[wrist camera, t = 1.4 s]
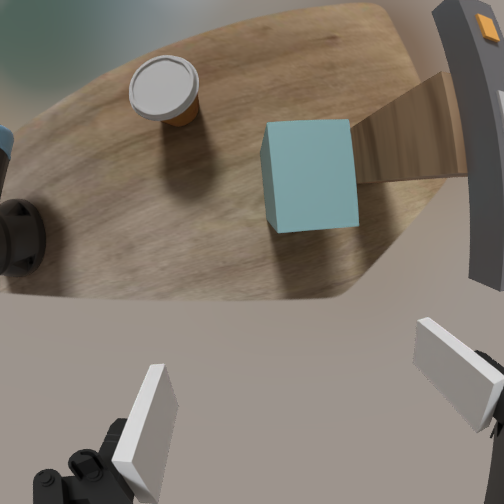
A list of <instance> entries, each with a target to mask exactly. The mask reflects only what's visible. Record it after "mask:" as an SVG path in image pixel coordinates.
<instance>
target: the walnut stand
mask: <svg viewBox="0 0 504 504" xmlns="http://www.w3.org/2000/svg"><path fill="white" fill-rule="evenodd" d="M350 133H351V140H352V149H353V157H354V167H355V177H356V184H366V183H384V182H395V181H407V180H420V179H434V178H450V177H468V173H467V162H466V153H465V145H464V138H463V132H462V125H461V119H460V114H459V108H458V103H457V99H456V94H455V89H454V85H453V81H452V77H451V73H447V72H439V73H437V74H436V75H434V76H432V77H431V78H429V79H427V80H426V81H424V82H423V83H421V84H419V85H418V86H416V87H414V88H413V89H411V90H410V91H408V92H406V93H405V94H403V95H402V96H400V97H398V98H397V99H395V100H394V101H392V102H390V103H389V104H387V105H386V106H384V107H383V108H381V109H379V110H378V111H376V112H375V113H373V114H372V115H370V116H369V117H367V118H366V119H364V120H363V121H361V122H359V123H358V124H356V125H355V126H353V127H352V128H350Z"/></svg>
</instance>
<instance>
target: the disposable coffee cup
mask: <svg viewBox="0 0 504 504" xmlns="http://www.w3.org/2000/svg"><path fill="white" fill-rule="evenodd" d="M198 88H199V78H198V75H197V71H196V70H195V68H194V66H193V65H192V64H191V63H190V62H188V61H187V60H185V59H183V58H180V57H176V56H171V55H164V56H158V57H155V58H152V59H150V60H148V61H147V62H145V63H144V64H142V65H141V66H140V67H139V68H138V69H137V71H136V72H135V73H134V75H133V77H132V79H131V82H130V87H129V99H130V103H131V105H132V107H133V109H134V110H135V111H136V113H138V114H139V115H140V116H142V117H143V118H146V119H149V120H153V121H161V122H164V123H167V124H170V125H172V126H184V125H186V124H188V123H190V122H191V121H193V119H194V118H195V117H196V115H197V113H198V110H199V100H198Z"/></svg>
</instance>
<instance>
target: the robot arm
mask: <svg viewBox="0 0 504 504" xmlns="http://www.w3.org/2000/svg"><path fill="white" fill-rule="evenodd" d="M13 142H14V137H13V133H12V132H11V131H10V130H9V129H8V128H6V127H4V126H2V125H0V198H1V193H2V189H3V184H4V180H5V176H6V172H7V168H8V165H9V161H10V159H11V156H10V155H11V151H12V147H13ZM45 243H46V238H45V229H44V225H43V222H42V219H41V217H40V215H39V213H38V211H37V210H36V208H35V207H34V206H33V205H32V204H31V203H30V202H28V201H26V200H23V199H11V200H7V201H5V202H3V203H2V204H0V275H4V276H11V277H22V276H25V275H28V274H30V273H32V272H34V271H35V270H36V269H37V268H38V266H39V265H40V263H41V261H42V259H43V256H44V252H45ZM413 363H414V365H415V366H416V367H417V368H418V369H419V370H420V371H421V372H422V373H423V374H424V376H425V377H426V378H427V379H428V380H429V381H430V382H431V383H432V384H433V385H434V386H435V387H436V389H437V390H438V391H439V392H440V393H441V394H442V395H443V396H444V397H445V398H446V399H447V401H448V402H449V403H450V404H451V405H452V406H453V407H454V408H455V409H456V411H457V412H458V413H459V414H460V415H461V416H462V417H463V418H464V419H465V421H466V422H467V423H468V424H469V425H470V426H471V427H472V429H473V430H474V431H475V432H476V433H478V432H480V431H482V430H483V429H485V428H487V427H488V426H489V425H490V422H491V420H492V417H494V418H495V419H496V420H497V422H496V424H495V426H494V429H493V431H492V433H491V436H490V438H492V437H493V434H494V442H493V452H492V460H491V467H490V474H489V480H488V486H487V492H486V496H485V501H484V504H504V367H502V366H501V365H500V364H499V363H498V364H497V362H496V361H494V360H492V358H491V357H490V356H488V355H487V354H486V353H483V352H480V351H478V350H476V351H473V350H471V349H470V348H469V347H467V346H466V345H465V344H464V343H462V342H461V341H459V340H458V339H457V338H456V337H454V336H453V335H452V334H450V333H449V332H448V331H446V330H445V329H444V328H442V327H441V326H439V325H438V324H437V323H436V322H434V321H433V320H432V319H430V318H429V317H427V318H423V319H420V320H417V327H416V338H415V349H414V358H413ZM177 410H178V403H177V400H176V397H175V394H174V391H173V388H172V385H171V382H170V379H169V376H168V372H167V369H166V366H165V364H154V365H150V368H149V370H148V372H147V375H146V377H145V379H144V381H143V384H142V386H141V389H140V391H139V393H138V396H137V398H136V401H135V403H134V405H133V408H132V410H131V413H130V415H129V418H128V419H125V418H122V419H121V418H118V419H117V420H116V421H115V422H114V423H113V424H112V425H111V426H110V428H109V430H108V432H107V435H106V437H105V439H104V442H103V444H102V446H101V448H100V450H99V452H98V453H97V452H96V451H94V450H91V449H83V450H79V451H77V452H76V453H74V454H73V455H72V456H71V457H70V458H69V461H68V466H69V468H70V470H71V471H72V473H73V474H74V475H75V476H68V477H61V475H60V474H59V473H58V472H57V471H56V470H53V469H45V470H42V471H40V472H39V473H37V474H36V476H35V477H34V480H33V504H133V499H134V495H135V497H136V498H137V499H138V500H139V502H141V503H152V504H158V501H159V496H160V491H161V486H162V481H163V476H164V470H165V466H166V461H167V456H168V452H169V447H170V441H171V437H172V433H173V428H174V423H175V419H176V415H177Z"/></svg>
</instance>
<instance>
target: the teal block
mask: <svg viewBox="0 0 504 504" xmlns="http://www.w3.org/2000/svg"><path fill="white" fill-rule="evenodd" d="M260 157H261V167H262V177H263V187H264V198H265V208H266V219H267V220H268V222H269V223H270V224H271V225H272V227H273V228H274V229H275V230H276V231H277V233H286V232H297V231H308V230H319V229H330V228H341V227H353V226H359V214H358V200H357V188H356V177H355V167H354V157H353V149H352V140H351V133H350V125H349V120H301V121H282V122H267V125H266V129H265V133H264V137H263V142H262V146H261V150H260Z"/></svg>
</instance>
